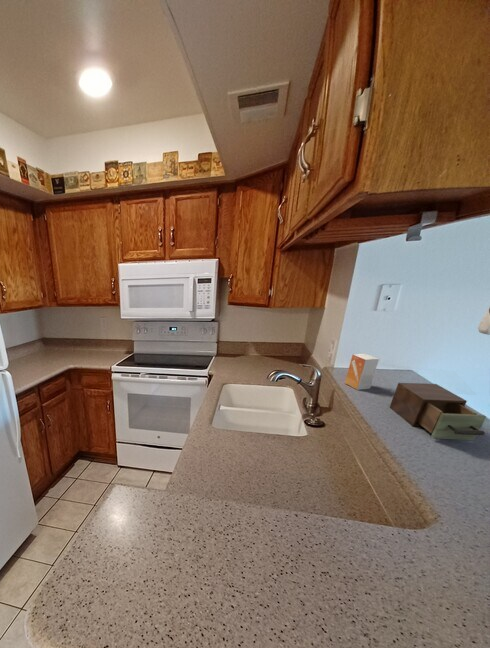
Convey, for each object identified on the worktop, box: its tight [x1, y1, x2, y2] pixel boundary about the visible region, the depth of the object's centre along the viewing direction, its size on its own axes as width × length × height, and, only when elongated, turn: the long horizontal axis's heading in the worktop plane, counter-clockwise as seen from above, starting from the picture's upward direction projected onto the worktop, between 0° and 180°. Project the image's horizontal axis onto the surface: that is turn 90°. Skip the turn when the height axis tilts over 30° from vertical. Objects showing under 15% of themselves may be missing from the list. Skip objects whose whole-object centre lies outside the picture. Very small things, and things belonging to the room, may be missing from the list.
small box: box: [344, 353, 380, 391], centre depth 137 cm, size 8×6×13 cm
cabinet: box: [389, 382, 468, 428], centre depth 111 cm, size 16×13×10 cm
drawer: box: [417, 402, 487, 441], centre depth 100 cm, size 19×11×8 cm, turn 174°
